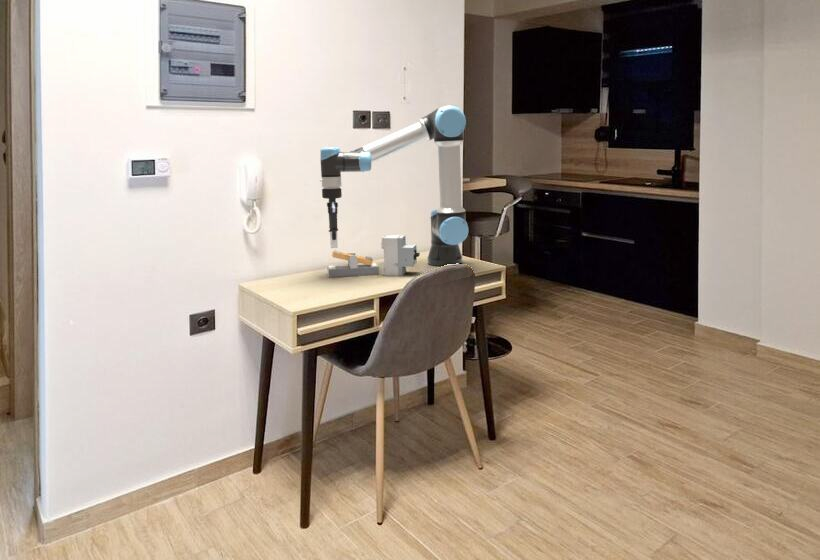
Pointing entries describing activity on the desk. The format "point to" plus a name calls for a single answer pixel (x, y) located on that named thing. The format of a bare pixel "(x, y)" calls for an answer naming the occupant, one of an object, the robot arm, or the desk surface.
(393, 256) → the circuit breaker
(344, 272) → the grey block
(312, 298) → the desk surface
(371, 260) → the lever
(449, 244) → the robot arm
